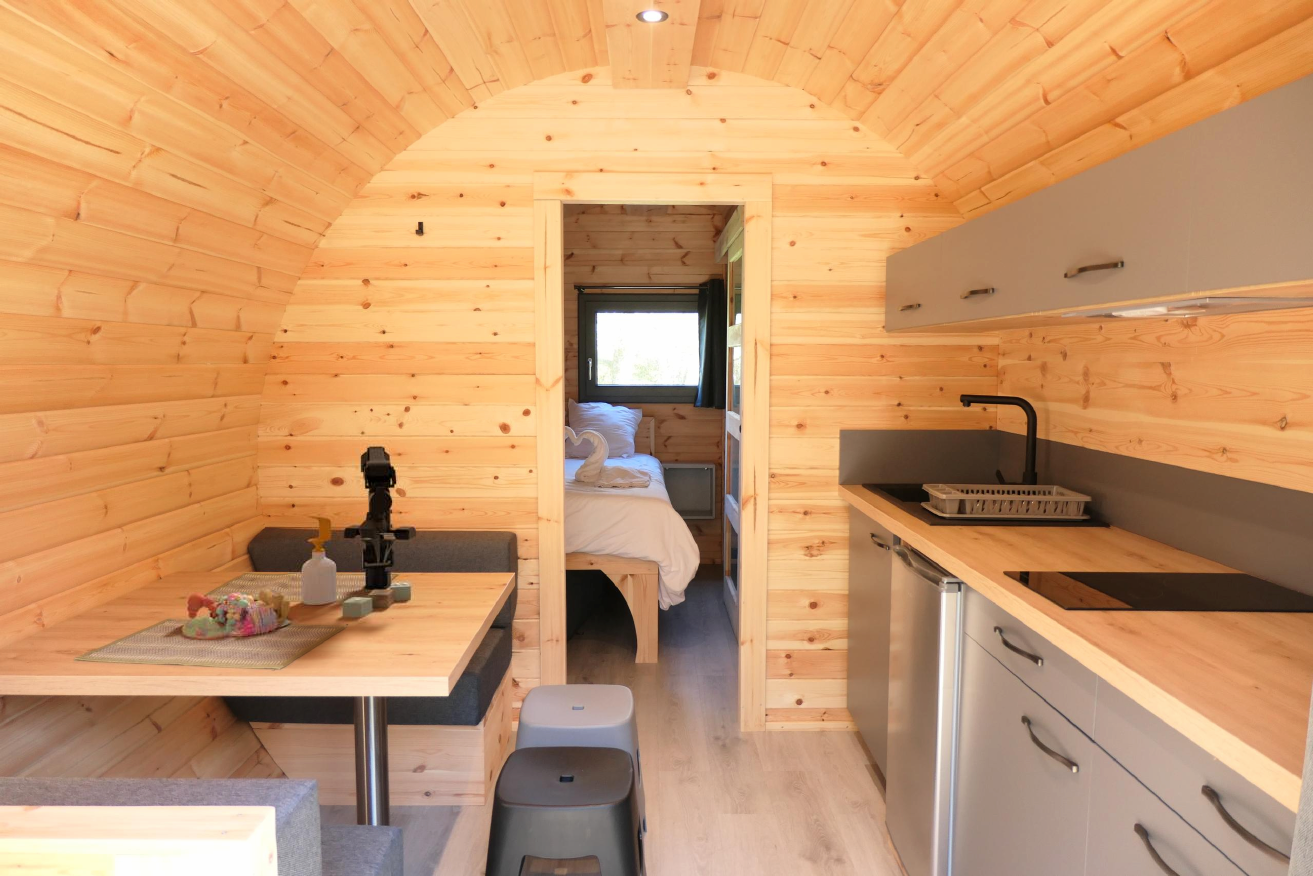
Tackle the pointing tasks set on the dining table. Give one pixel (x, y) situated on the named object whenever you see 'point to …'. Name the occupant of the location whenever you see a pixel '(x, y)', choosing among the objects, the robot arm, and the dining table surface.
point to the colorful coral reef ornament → (236, 615)
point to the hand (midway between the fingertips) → (380, 563)
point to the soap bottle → (319, 570)
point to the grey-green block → (357, 607)
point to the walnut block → (382, 598)
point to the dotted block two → (401, 590)
